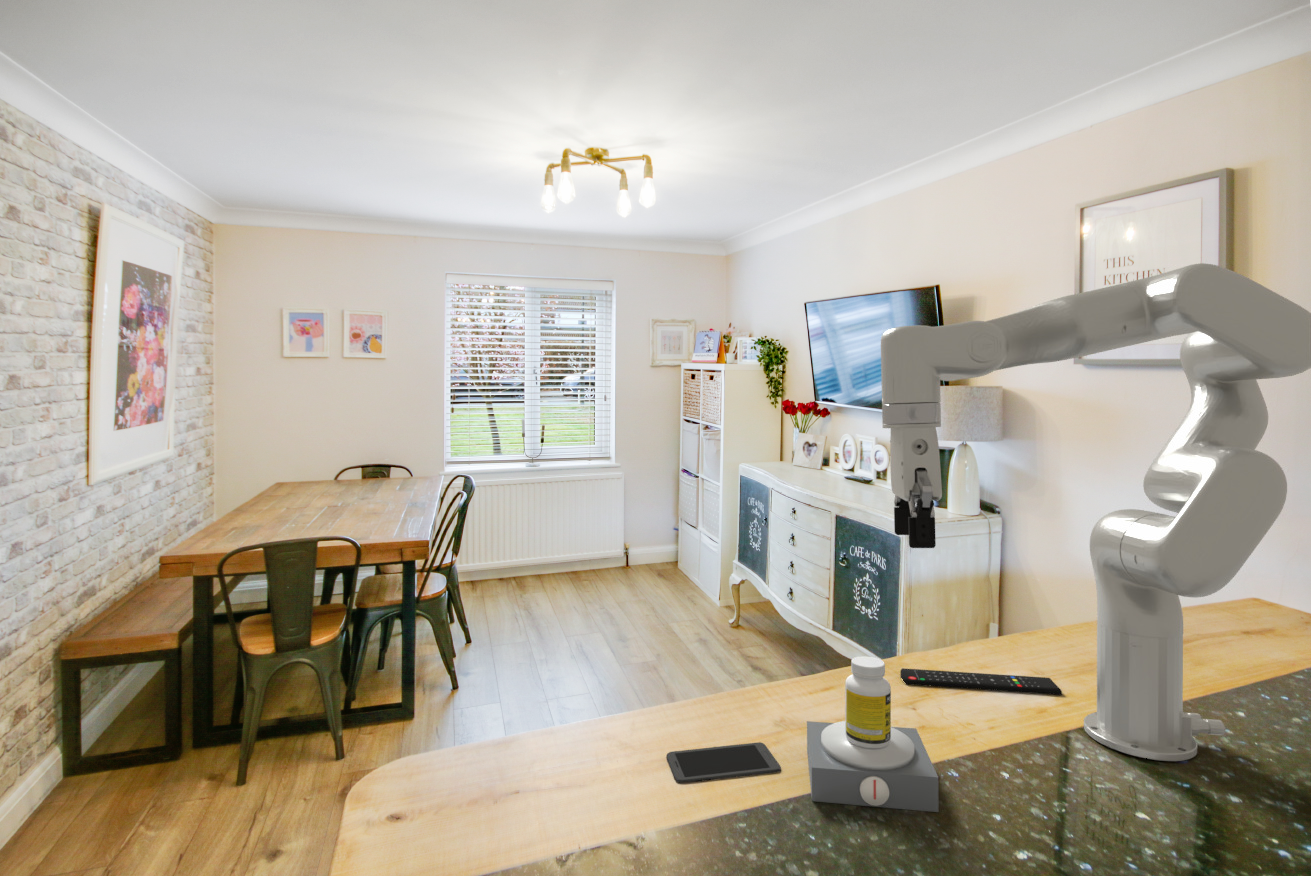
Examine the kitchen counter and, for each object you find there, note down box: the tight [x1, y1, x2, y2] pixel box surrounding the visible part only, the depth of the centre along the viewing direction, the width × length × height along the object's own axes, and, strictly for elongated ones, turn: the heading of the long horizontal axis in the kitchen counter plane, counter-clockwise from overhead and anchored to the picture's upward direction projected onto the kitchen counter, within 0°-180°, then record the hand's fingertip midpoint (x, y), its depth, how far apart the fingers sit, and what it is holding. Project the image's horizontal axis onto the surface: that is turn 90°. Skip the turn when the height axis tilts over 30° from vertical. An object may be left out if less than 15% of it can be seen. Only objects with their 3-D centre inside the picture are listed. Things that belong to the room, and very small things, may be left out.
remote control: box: [900, 667, 1063, 696], centre depth 110 cm, size 5×24×1 cm, turn 78°
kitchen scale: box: [806, 720, 940, 813], centre depth 81 cm, size 14×13×5 cm
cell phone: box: [666, 741, 782, 784], centre depth 86 cm, size 7×14×1 cm, turn 100°
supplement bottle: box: [844, 655, 892, 749], centre depth 82 cm, size 5×5×10 cm
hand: (913, 540), depth 91 cm, fingers open, 9 cm apart
